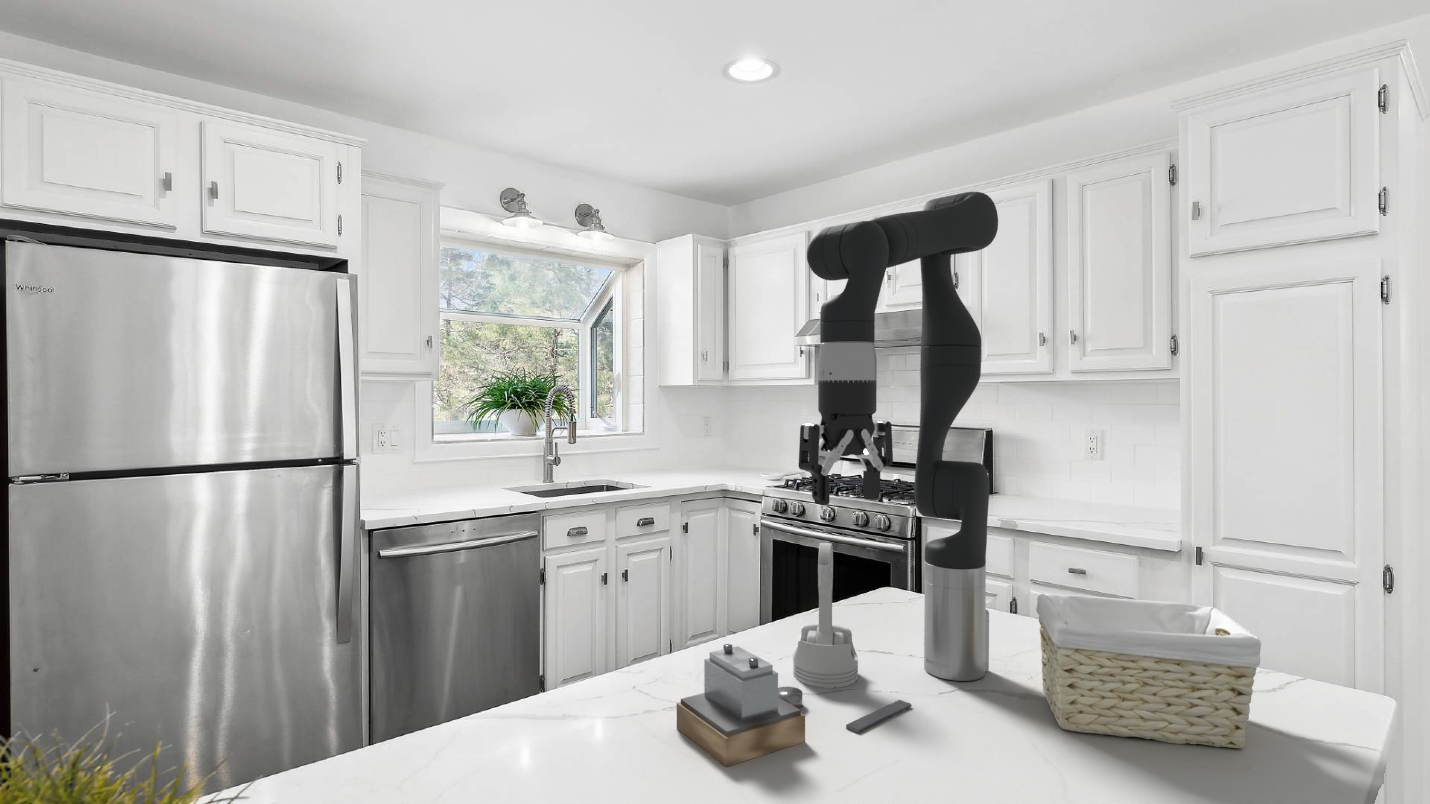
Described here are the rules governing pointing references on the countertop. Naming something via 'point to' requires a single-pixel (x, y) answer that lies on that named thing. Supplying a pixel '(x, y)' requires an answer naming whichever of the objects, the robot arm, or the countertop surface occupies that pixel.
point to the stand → (738, 730)
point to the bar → (878, 716)
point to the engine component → (825, 638)
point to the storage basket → (1147, 669)
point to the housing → (741, 683)
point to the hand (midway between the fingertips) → (847, 501)
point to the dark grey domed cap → (791, 696)
